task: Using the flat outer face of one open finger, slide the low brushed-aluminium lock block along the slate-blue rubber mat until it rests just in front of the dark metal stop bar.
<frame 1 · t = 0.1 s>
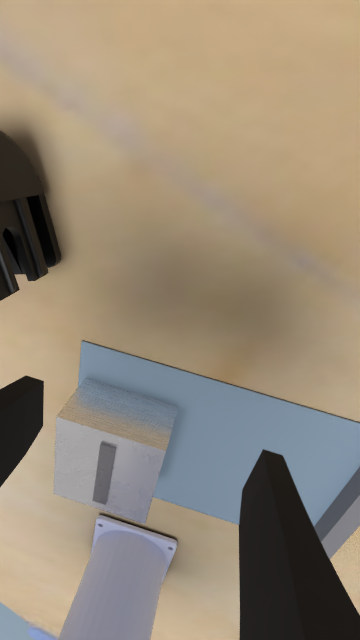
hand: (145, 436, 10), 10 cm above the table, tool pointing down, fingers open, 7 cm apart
aluminium lock block: (124, 429, 25), resting on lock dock
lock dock: (212, 456, 24), on the table
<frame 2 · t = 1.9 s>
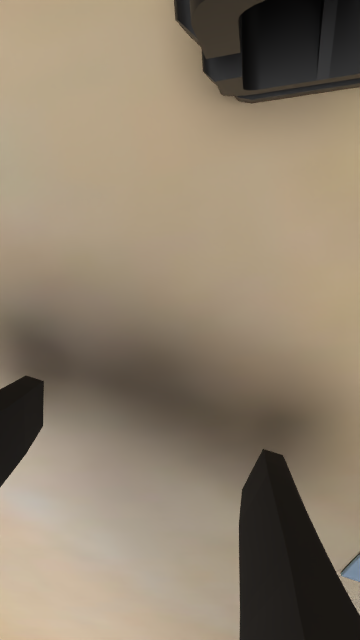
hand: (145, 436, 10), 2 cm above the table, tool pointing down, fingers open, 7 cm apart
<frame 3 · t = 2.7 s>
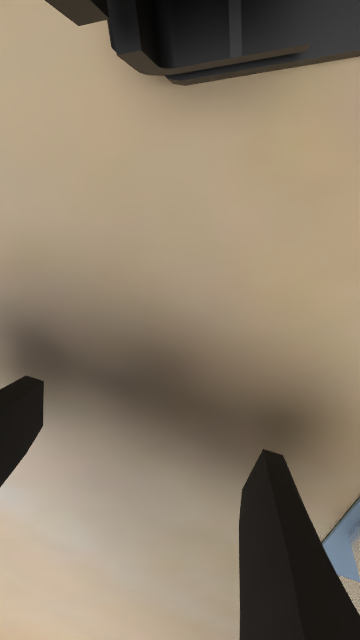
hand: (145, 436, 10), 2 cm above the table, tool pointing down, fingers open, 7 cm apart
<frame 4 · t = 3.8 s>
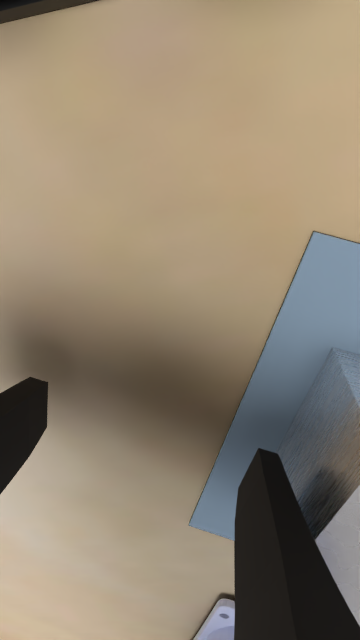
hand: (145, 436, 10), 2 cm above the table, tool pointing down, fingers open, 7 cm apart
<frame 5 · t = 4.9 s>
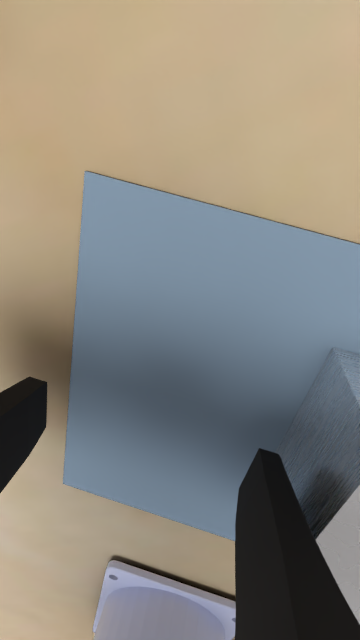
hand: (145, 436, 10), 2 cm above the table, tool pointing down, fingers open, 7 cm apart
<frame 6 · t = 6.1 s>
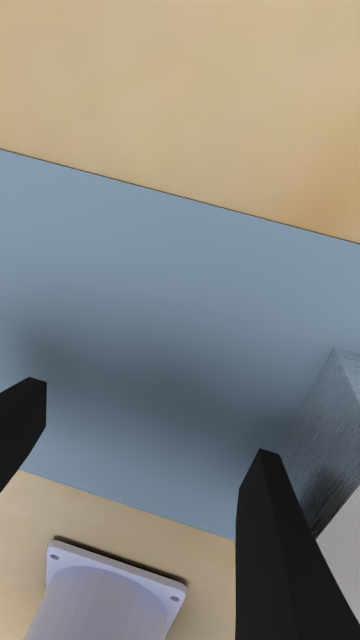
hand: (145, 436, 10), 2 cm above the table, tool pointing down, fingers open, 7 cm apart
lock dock: (265, 429, 12), on the table
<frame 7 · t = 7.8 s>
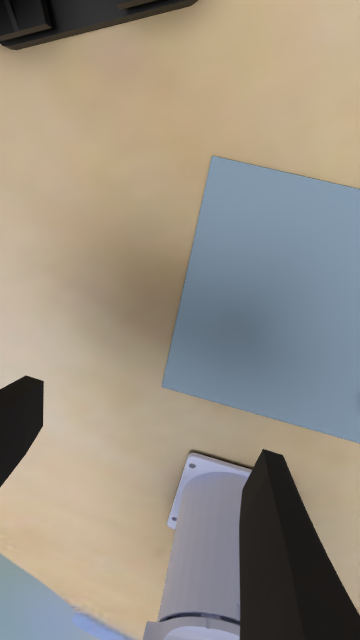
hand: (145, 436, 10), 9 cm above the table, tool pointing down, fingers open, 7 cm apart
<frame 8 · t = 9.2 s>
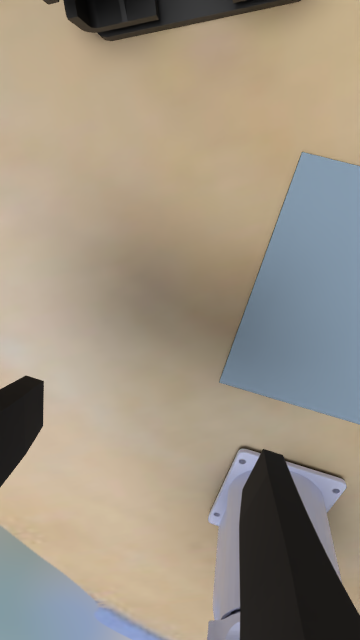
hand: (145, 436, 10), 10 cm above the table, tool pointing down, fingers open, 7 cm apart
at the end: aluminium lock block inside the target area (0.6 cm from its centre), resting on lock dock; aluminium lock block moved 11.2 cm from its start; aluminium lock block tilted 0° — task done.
